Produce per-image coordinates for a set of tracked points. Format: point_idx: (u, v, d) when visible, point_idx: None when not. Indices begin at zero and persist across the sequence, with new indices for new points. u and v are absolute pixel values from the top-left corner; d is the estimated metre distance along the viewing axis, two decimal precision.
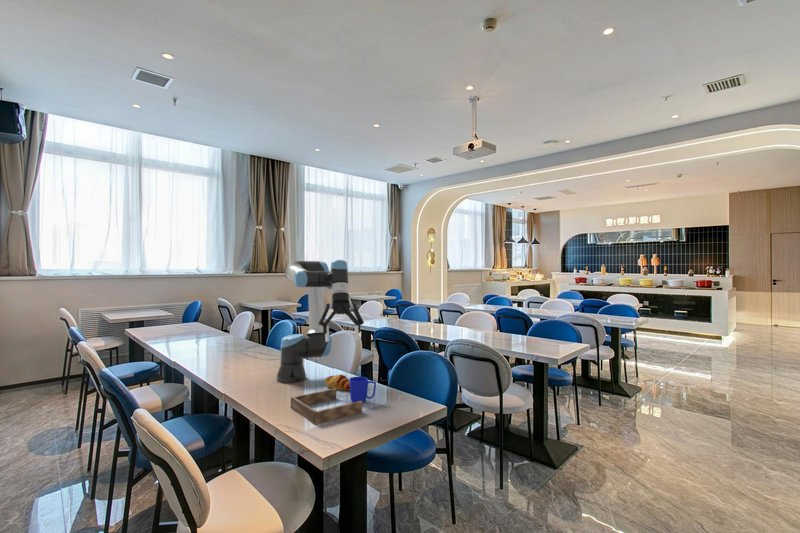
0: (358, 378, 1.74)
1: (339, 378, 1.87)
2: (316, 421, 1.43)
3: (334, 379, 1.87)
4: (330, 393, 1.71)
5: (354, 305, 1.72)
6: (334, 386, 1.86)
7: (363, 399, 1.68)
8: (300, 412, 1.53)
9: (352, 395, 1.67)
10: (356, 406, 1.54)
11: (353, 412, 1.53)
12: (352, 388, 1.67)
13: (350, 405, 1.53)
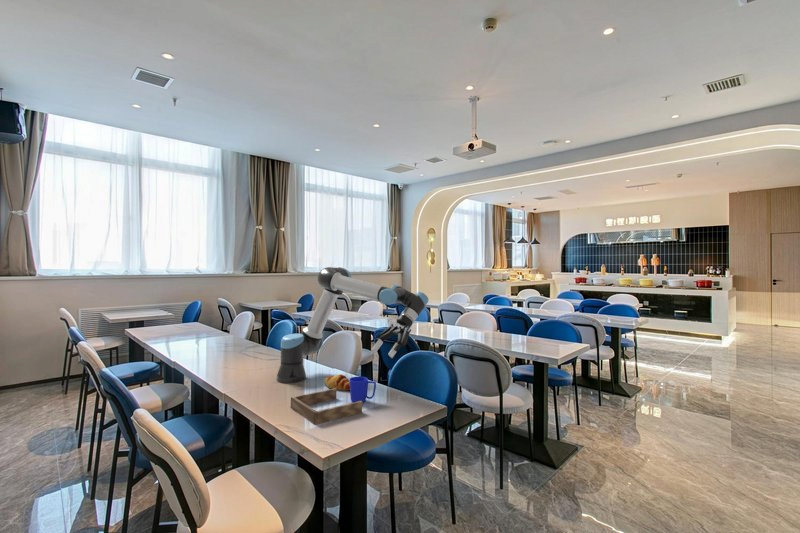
0: (358, 378, 1.74)
1: (339, 378, 1.87)
2: (316, 421, 1.43)
3: (334, 379, 1.87)
4: (330, 393, 1.71)
5: None
6: (334, 386, 1.86)
7: (363, 399, 1.68)
8: (300, 412, 1.53)
9: (352, 395, 1.67)
10: (356, 406, 1.54)
11: (353, 412, 1.53)
12: (352, 388, 1.67)
13: (350, 405, 1.53)
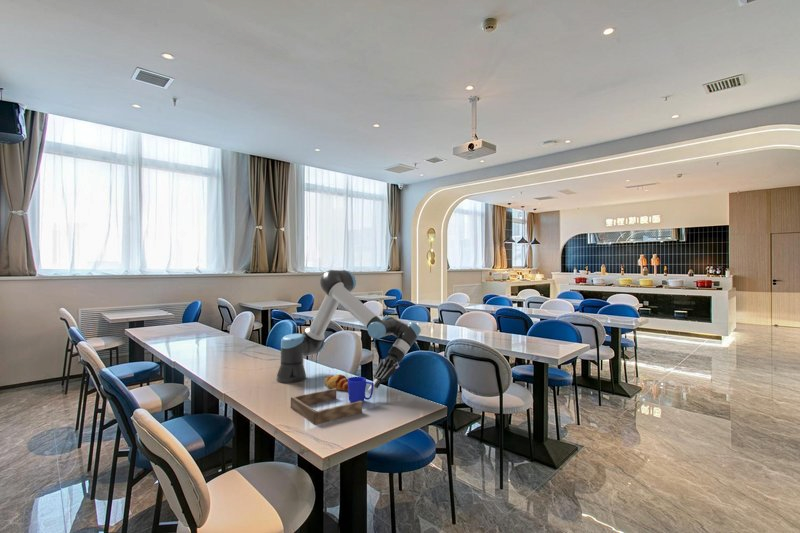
0: (357, 378, 1.73)
1: (338, 378, 1.87)
2: (316, 421, 1.43)
3: (333, 379, 1.87)
4: (330, 393, 1.71)
5: None
6: (333, 386, 1.86)
7: (360, 400, 1.67)
8: (300, 412, 1.53)
9: (349, 395, 1.67)
10: (356, 406, 1.54)
11: (353, 412, 1.53)
12: (349, 388, 1.67)
13: (350, 405, 1.53)
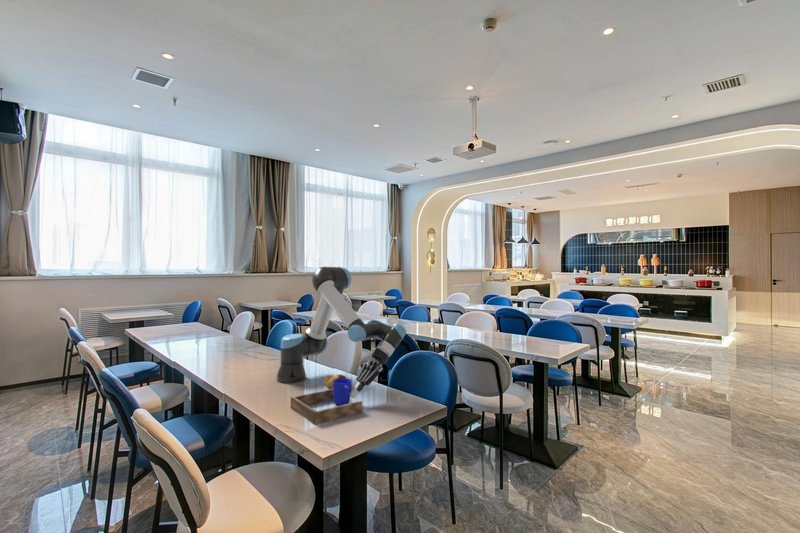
0: (348, 380, 1.69)
1: (338, 378, 1.87)
2: (316, 421, 1.43)
3: (333, 379, 1.87)
4: (330, 393, 1.71)
5: None
6: None
7: (339, 402, 1.63)
8: (300, 412, 1.53)
9: None
10: (356, 406, 1.54)
11: (353, 412, 1.53)
12: None
13: (350, 405, 1.53)
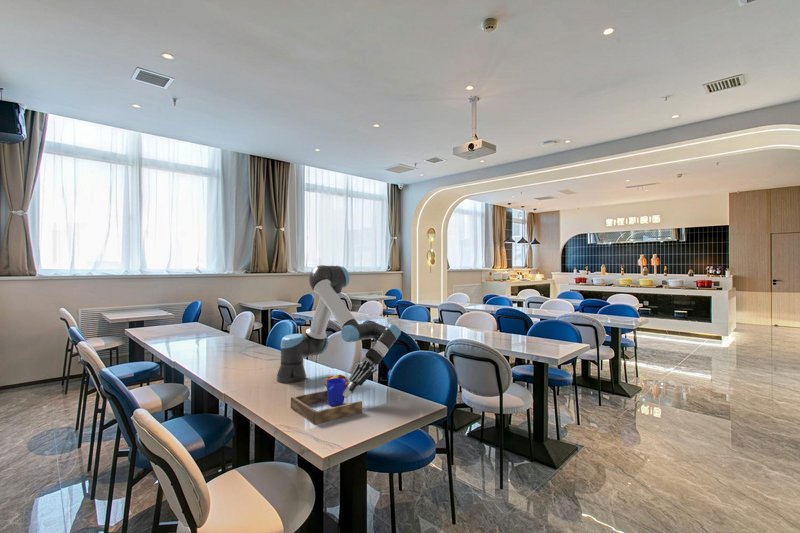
0: (344, 382, 1.66)
1: None
2: (316, 421, 1.43)
3: None
4: None
5: None
6: None
7: None
8: (300, 412, 1.53)
9: None
10: (356, 406, 1.54)
11: (353, 412, 1.53)
12: None
13: (350, 405, 1.53)
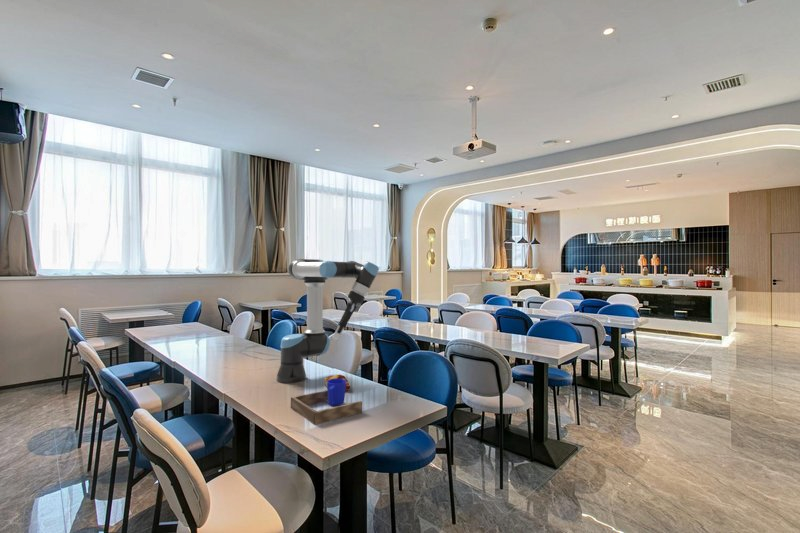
0: None
1: (337, 378, 1.87)
2: (316, 421, 1.43)
3: None
4: None
5: None
6: None
7: (330, 402, 1.63)
8: (300, 412, 1.53)
9: None
10: (356, 406, 1.54)
11: (353, 412, 1.53)
12: None
13: (350, 405, 1.53)
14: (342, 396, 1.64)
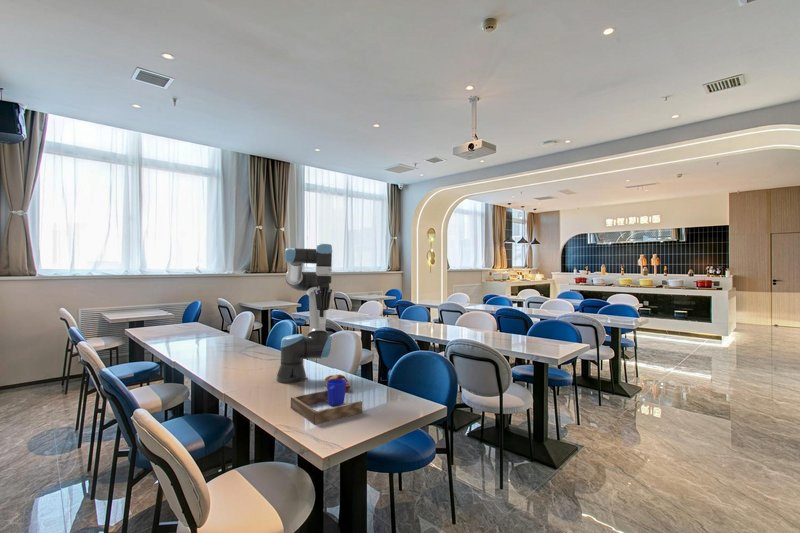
0: None
1: (337, 378, 1.87)
2: (316, 421, 1.43)
3: None
4: None
5: (331, 290, 1.91)
6: None
7: (330, 402, 1.63)
8: (300, 412, 1.53)
9: None
10: (356, 406, 1.54)
11: (353, 412, 1.53)
12: None
13: (350, 405, 1.53)
14: (342, 396, 1.64)
